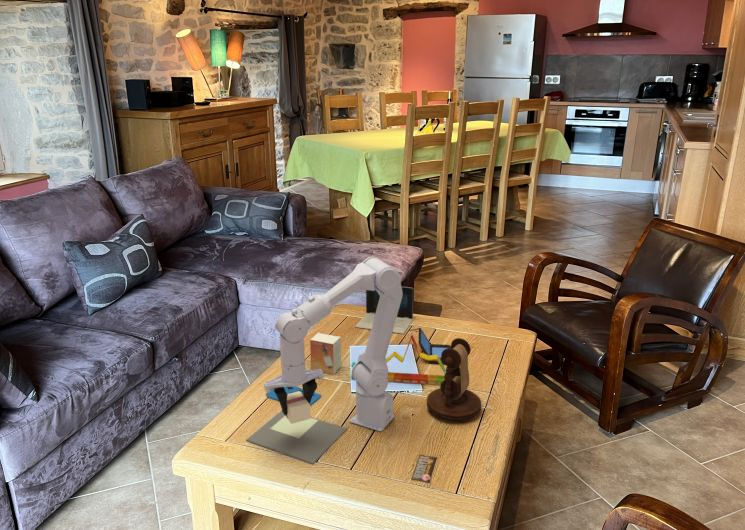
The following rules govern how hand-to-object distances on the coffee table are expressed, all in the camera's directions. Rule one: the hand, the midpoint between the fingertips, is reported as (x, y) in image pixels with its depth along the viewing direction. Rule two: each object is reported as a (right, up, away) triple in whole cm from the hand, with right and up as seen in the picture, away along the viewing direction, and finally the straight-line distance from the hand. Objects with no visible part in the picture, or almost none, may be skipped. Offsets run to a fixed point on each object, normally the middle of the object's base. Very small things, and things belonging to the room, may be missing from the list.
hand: (295, 409), depth 151 cm
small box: (+5, +4, +38) cm, 38 cm away
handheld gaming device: (-4, -2, +23) cm, 23 cm away
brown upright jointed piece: (+41, -4, +16) cm, 44 cm away
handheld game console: (+39, +6, +46) cm, 61 cm away
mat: (0, -8, +5) cm, 9 cm away
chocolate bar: (+31, -13, -7) cm, 34 cm away
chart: (+28, +1, +31) cm, 42 cm away
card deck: (0, -1, 0) cm, 1 cm away
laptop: (+23, +14, +69) cm, 74 cm away
